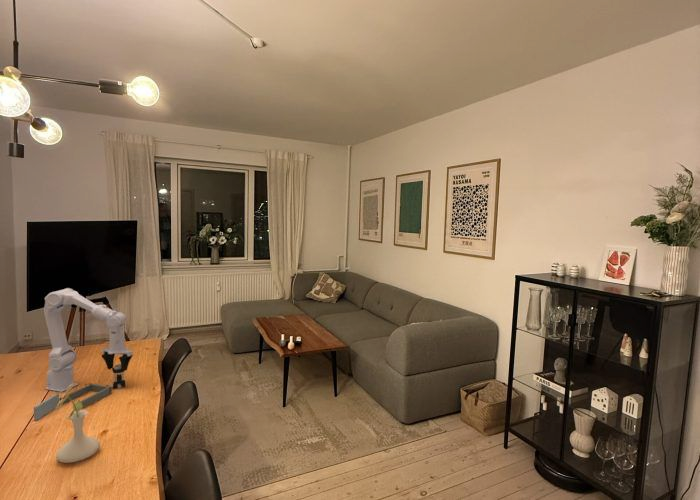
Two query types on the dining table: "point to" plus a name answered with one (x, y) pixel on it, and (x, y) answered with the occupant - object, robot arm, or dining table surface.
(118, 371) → the push button
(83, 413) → the flower in vase
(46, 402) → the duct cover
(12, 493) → the dining table surface
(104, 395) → the duct bay
